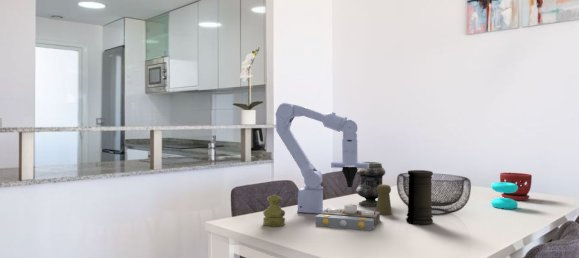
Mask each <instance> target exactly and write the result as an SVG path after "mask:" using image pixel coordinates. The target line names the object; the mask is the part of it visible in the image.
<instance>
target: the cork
mask: <svg viewBox="0 0 579 258" xmlns="http://www.w3.org/2000/svg"><path fill="white" fill-rule="evenodd" d="M391 191H392V188H391V186H390V185H388V184H382V185H379V186H378V187H377V192H378V198H377V199H376V201H377V206H375V207H376V208H375V212H380V215H381V216H390V215H392V214H393V213H392V206H391V197H390V193H391Z"/></svg>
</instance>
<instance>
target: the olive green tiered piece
mask: <svg viewBox="0 0 579 258" xmlns="http://www.w3.org/2000/svg"><path fill="white" fill-rule="evenodd" d="M266 199H267V201H268V202H269V204H270V205H269V206H268V207H267V208H266V209H265V210H263V212H262V213H263V214H262V215H263V216H264V217H263V219H262V220H263V225H264V226H266V227H275V228H276V227H282V226H284V225H285V224H286V218H285V215H286V211H285V210H283V209H282V207H281V206H279V203H280V202H281V201H282V199H283V198H282V197H281V196H279V195H277V194H271V195H270V196H268V197H266Z"/></svg>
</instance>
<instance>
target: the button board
mask: <svg viewBox="0 0 579 258" xmlns="http://www.w3.org/2000/svg"><path fill="white" fill-rule="evenodd" d="M329 208H330V207H327V208H325V209H326V210H324V211H323V212H321V214H323V215H336V216H348V217H360V218H372V219H374V227H376V226H377V225H378V223H379V222H380V221H381V216H380V212H376V211H373V210H372V211H373V212H374V216H370V215H361V211H362V210H360V209H357V214H345V213H344V208H339V209H340V213H332V212H328V209H329Z"/></svg>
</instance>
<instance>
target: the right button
mask: <svg viewBox="0 0 579 258" xmlns="http://www.w3.org/2000/svg"><path fill="white" fill-rule="evenodd" d="M374 212H375V211H374ZM374 212H373V210H361V215H370V216H374Z"/></svg>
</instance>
